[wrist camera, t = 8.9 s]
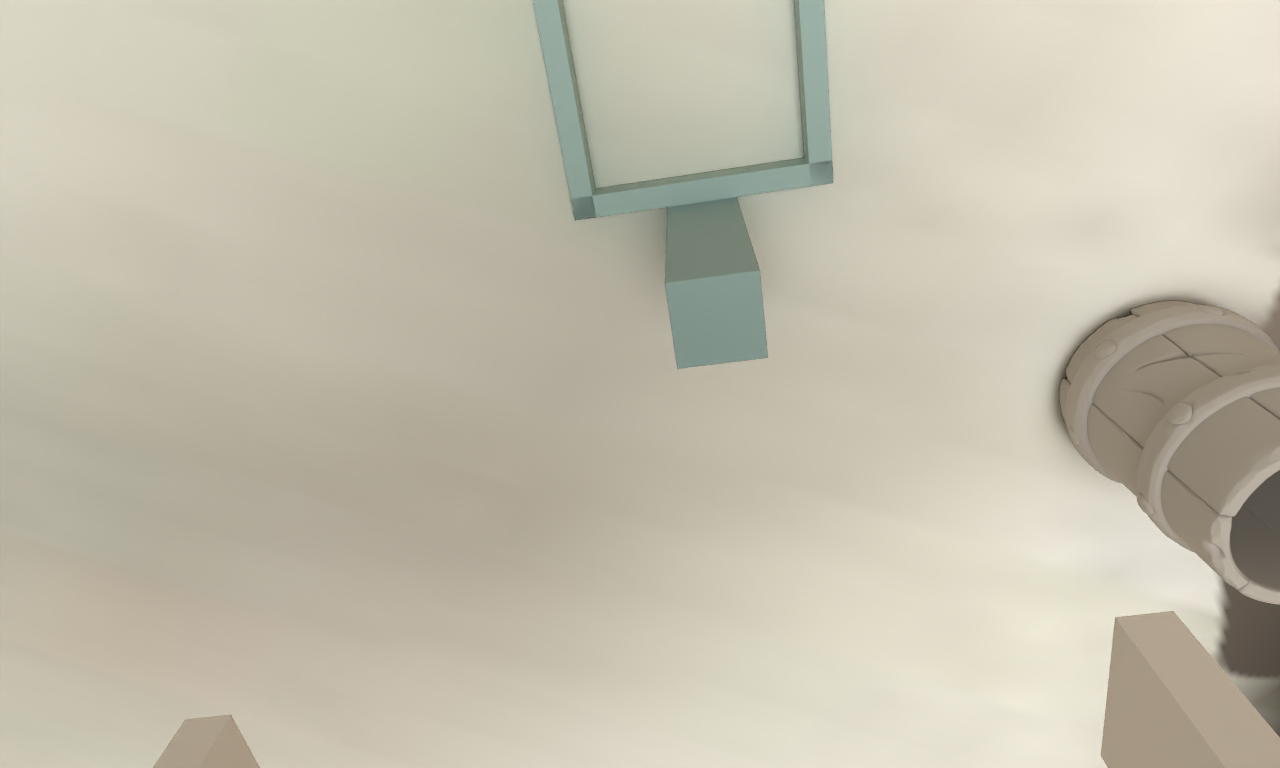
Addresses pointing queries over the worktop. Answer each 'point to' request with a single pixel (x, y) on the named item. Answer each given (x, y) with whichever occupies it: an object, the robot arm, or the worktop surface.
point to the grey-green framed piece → (700, 200)
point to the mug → (1188, 431)
